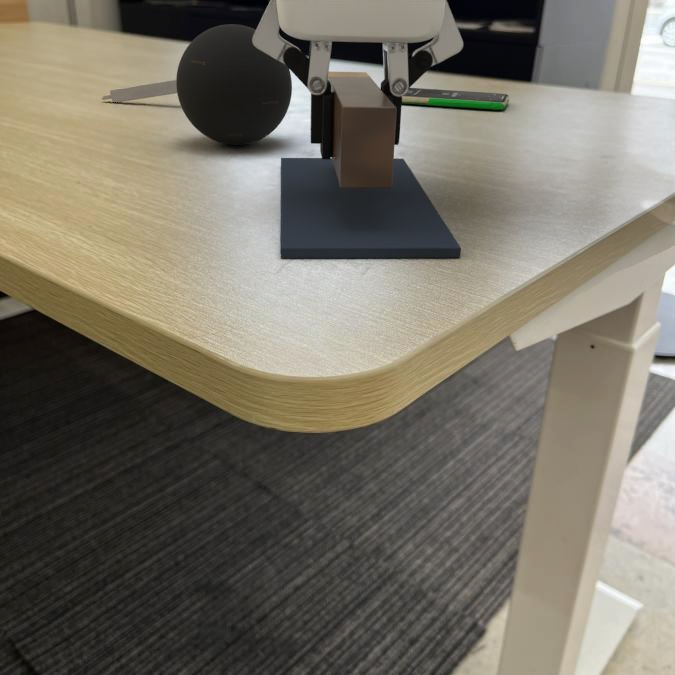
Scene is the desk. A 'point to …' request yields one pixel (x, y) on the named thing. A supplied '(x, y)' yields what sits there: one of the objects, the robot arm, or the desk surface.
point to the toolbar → (362, 131)
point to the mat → (358, 216)
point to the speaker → (232, 86)
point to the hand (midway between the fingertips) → (353, 152)
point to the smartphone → (456, 98)
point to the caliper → (142, 91)
